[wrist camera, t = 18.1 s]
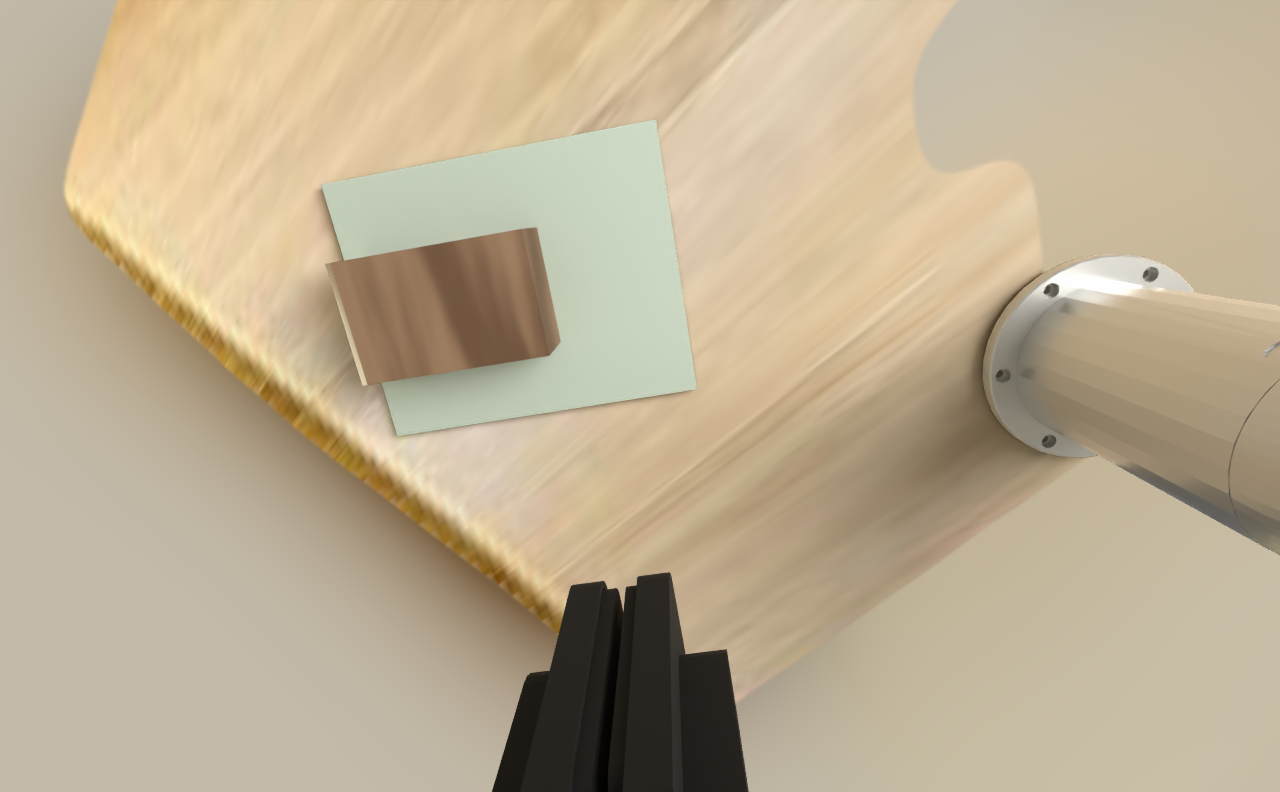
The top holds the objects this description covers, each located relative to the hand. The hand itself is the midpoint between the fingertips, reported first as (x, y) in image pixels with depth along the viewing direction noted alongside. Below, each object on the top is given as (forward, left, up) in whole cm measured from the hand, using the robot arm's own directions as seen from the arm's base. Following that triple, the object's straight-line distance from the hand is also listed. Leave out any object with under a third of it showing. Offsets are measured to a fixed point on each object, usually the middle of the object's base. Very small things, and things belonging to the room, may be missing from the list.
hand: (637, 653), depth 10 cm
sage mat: (+8, -4, -29) cm, 30 cm away
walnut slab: (+6, -4, -27) cm, 28 cm away
